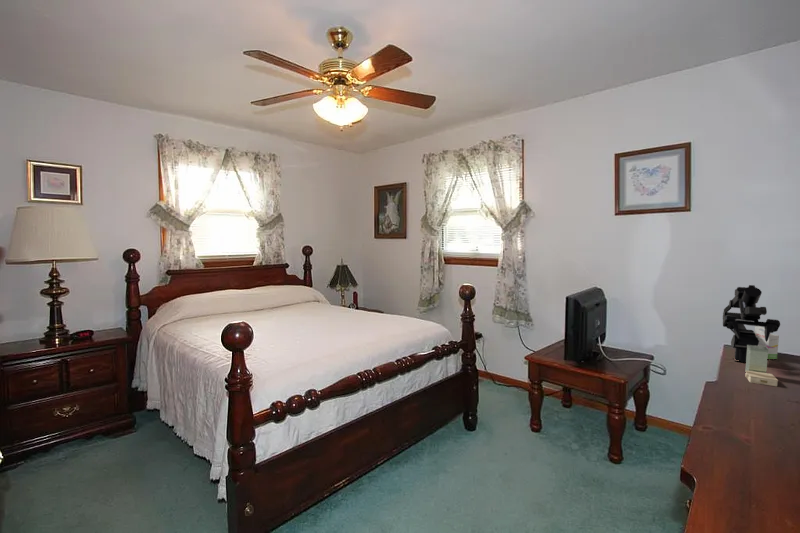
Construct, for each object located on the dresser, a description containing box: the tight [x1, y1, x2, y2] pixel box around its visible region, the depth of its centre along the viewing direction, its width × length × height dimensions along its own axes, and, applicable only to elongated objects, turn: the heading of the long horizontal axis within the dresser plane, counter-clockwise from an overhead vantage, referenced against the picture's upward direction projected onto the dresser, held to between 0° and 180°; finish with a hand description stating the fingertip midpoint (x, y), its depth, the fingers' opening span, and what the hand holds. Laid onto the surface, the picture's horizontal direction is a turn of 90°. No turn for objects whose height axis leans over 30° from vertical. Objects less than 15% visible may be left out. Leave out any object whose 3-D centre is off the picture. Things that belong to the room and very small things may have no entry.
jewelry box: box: [744, 370, 779, 387], centre depth 162 cm, size 8×8×3 cm
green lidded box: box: [744, 345, 769, 373], centre depth 169 cm, size 6×6×12 cm
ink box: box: [754, 326, 780, 360], centre depth 194 cm, size 9×5×15 cm, turn 179°
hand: (752, 339), depth 175 cm, fingers open, 9 cm apart
